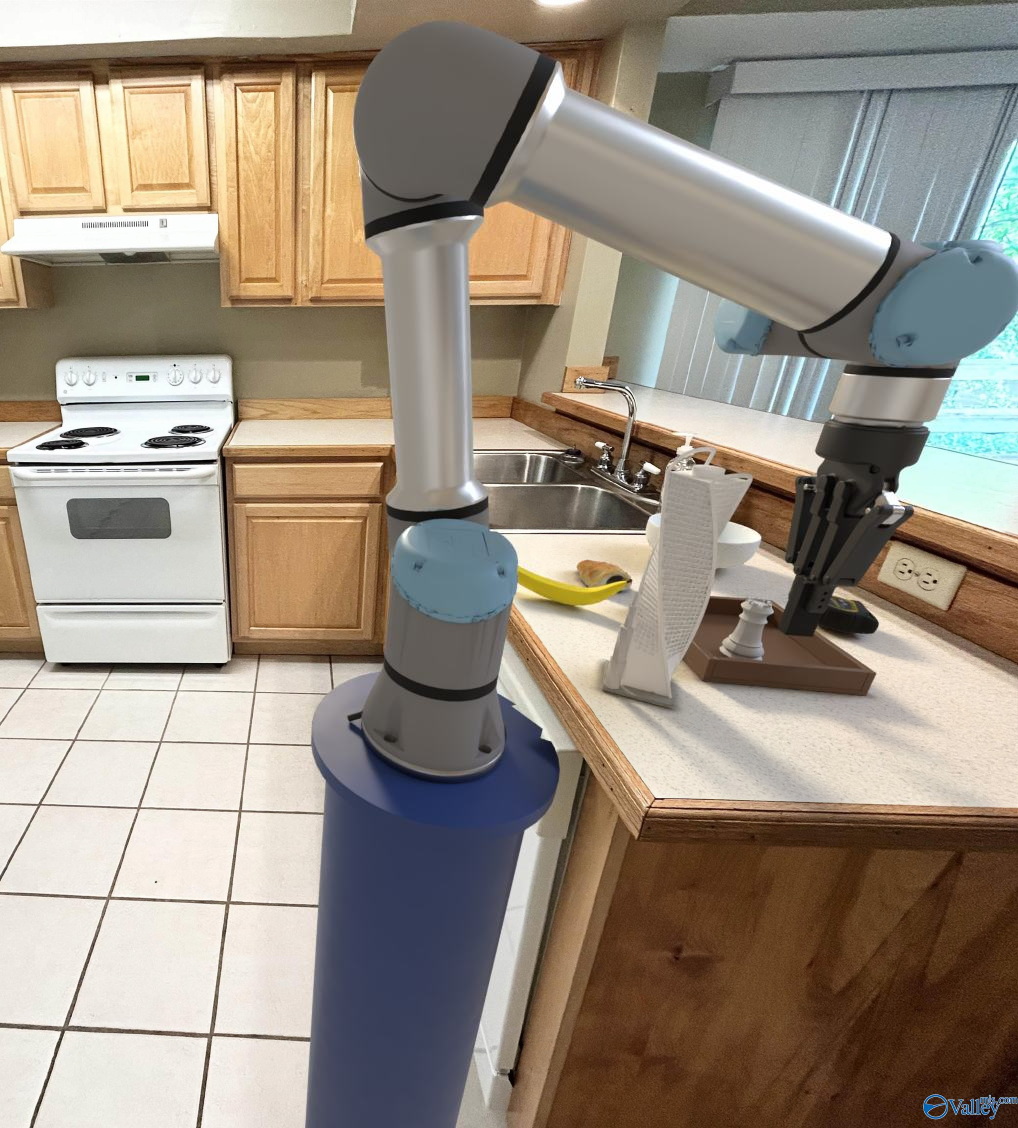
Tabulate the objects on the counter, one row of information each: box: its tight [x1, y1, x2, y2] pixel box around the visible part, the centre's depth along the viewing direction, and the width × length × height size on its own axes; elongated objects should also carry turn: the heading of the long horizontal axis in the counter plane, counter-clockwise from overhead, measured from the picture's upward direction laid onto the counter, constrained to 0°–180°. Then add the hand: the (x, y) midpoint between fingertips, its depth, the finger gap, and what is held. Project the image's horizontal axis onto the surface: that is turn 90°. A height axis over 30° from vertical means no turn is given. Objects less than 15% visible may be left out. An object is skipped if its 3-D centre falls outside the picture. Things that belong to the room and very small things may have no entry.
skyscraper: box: [601, 446, 754, 709], centre depth 66 cm, size 8×8×28 cm
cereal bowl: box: [645, 512, 762, 570], centre depth 106 cm, size 17×17×7 cm
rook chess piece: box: [720, 596, 774, 660], centre depth 74 cm, size 4×4×8 cm
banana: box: [517, 565, 633, 607], centre depth 91 cm, size 3×19×6 cm, turn 52°
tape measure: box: [818, 595, 880, 635], centre depth 84 cm, size 7×7×4 cm
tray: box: [682, 595, 877, 696], centre depth 79 cm, size 18×20×3 cm
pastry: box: [576, 559, 633, 592], centre depth 98 cm, size 9×7×4 cm
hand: (794, 632), depth 67 cm, fingers closed
